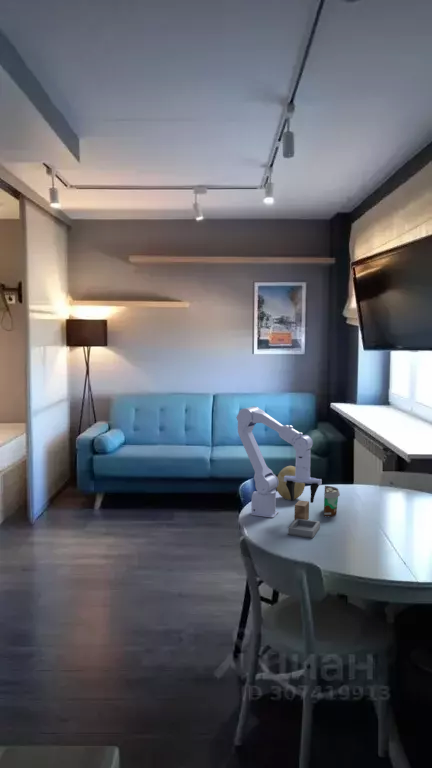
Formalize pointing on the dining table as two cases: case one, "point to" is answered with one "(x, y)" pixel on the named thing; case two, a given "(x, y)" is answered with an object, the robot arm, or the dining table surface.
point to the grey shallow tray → (304, 528)
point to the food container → (330, 501)
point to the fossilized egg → (282, 486)
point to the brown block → (302, 510)
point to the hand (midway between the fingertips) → (302, 501)
